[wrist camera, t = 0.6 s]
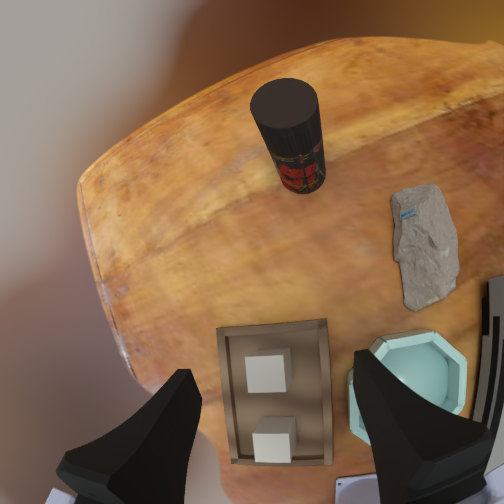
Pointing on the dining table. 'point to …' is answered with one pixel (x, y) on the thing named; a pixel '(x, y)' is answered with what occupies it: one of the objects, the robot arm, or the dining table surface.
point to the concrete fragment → (424, 245)
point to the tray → (279, 403)
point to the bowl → (417, 371)
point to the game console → (492, 372)
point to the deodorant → (291, 132)
